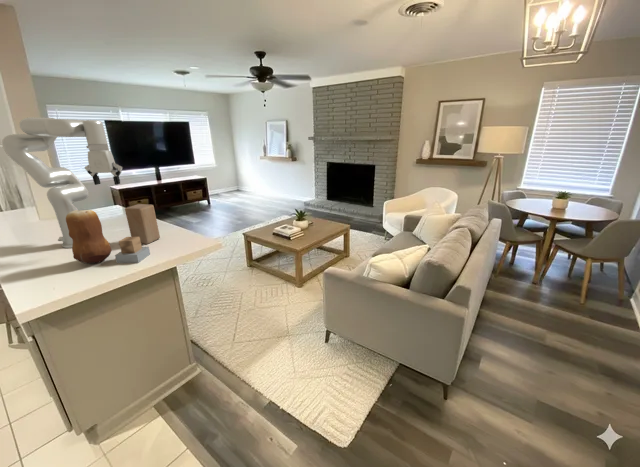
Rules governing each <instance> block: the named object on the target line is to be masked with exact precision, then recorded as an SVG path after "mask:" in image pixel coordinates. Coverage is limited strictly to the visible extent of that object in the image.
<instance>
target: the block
mask: <svg viewBox="0 0 640 467" xmlns="http://www.w3.org/2000/svg"><path fill="white" fill-rule="evenodd" d="M124 212H125V216H126V219H127V221H126V222H127V225H128V228H129V233H130V237H140V241H141V245H142V244H143V245H149V244H151V243H153V242H156V241H157V240H160V239H161V236H160V231H159V224H158V221H157V216H156V211H155V207H154V204H148V203H147V204H142V203H138V204H134V205H132V206H131V205H130V206H127V207H125V208H124Z"/></svg>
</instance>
